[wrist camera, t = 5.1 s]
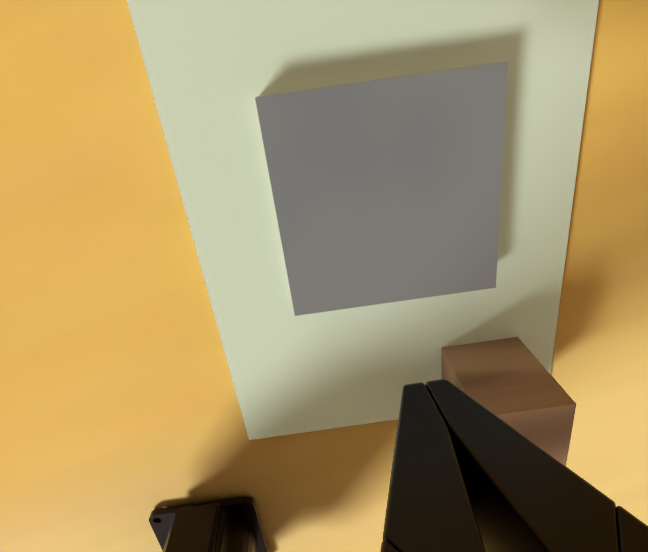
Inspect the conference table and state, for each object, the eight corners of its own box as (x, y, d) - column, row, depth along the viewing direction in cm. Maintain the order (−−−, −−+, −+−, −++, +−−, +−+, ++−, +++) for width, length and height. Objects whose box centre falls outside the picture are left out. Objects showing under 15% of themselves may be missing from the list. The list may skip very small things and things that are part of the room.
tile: (294, 299, 20) (481, 272, 20) (294, 315, 19) (495, 287, 18) (258, 95, 16) (489, 63, 16) (254, 97, 15) (507, 61, 15)
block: (512, 396, 23) (564, 472, 19) (441, 406, 23) (476, 484, 19) (517, 336, 22) (576, 403, 17) (441, 347, 22) (479, 417, 17)
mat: (543, 393, 24) (547, 398, 24) (249, 435, 24) (249, 440, 24) (604, -96, 15) (612, -101, 14) (122, -28, 15) (118, -31, 14)
